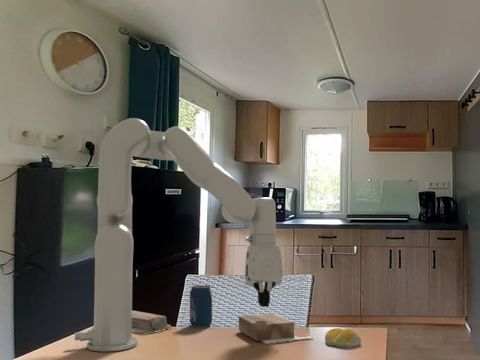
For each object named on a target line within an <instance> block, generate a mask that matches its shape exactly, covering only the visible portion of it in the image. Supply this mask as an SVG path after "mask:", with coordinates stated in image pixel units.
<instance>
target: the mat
mask: <svg viewBox="0 0 480 360" xmlns="http://www.w3.org/2000/svg"><path fill="white" fill-rule="evenodd" d="M309 338H313V339H314V337H313V336H311V335H309V336H307V337H297V336H295V337H294V338H284V339H274V340H264V341H261V342H262V343H263V344H266V345H267V344H269V345H270V344H278V343H277V342H279V343H287V342H286V341H289V342H294V341H293V340H299V339H309ZM309 340H310V339H309ZM299 341H300V340H299Z"/></svg>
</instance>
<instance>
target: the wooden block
mask: <svg viewBox="0 0 480 360" xmlns="http://www.w3.org/2000/svg"><path fill="white" fill-rule="evenodd" d="M294 329H295V322H294V321H292V320H290V319H287V318H284V317H282V316H279V315H277V314H275V313H265V314H253V315H241V316H238V331H239V332H241V333H243V334H244V335H246V336H248V337H249V338H251V339H252V340H255V341H256V342H262V341H264V340H274V339H284V338H294V337H295V331H294Z"/></svg>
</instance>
